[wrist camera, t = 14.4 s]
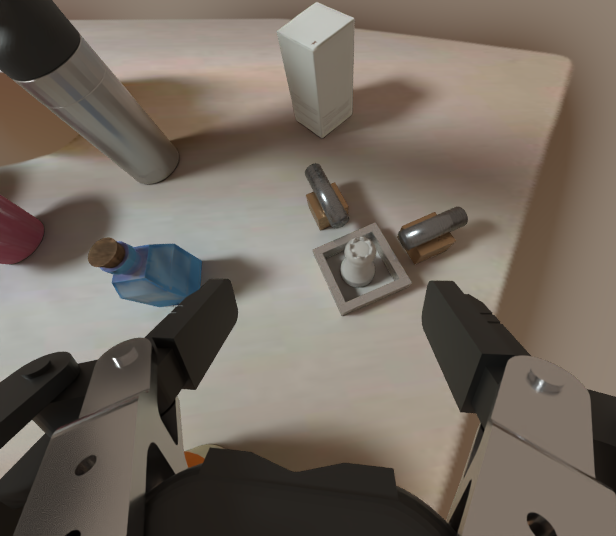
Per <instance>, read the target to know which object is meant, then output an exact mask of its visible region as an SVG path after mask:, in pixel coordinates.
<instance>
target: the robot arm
mask: <svg viewBox="0 0 616 536" xmlns="http://www.w3.org/2000/svg"><path fill="white" fill-rule="evenodd" d="M0 70H1V71H2V72H4V73H5V74H6V75H7V76H9V77H10V78H11V79H13V80H14V81H15V82H16V83H17V84H19V85H20V86H21V87H22V88H24V89H25V90H26V91H27V92H28V93H30V94H31V95H32V96H33V97H35V98H36V99H37V100H38V101H40V102H41V103H42V104H43V105H45V106H46V107H47V108H48V109H49V110H51V111H52V112H53V113H54V114H56V115H57V116H58V117H59V118H61V119H62V120H63V121H65V122H66V123H67V124H68V125H69V126H71V127H72V128H73V129H74V130H75V131H76V132H78V133H79V134H80V135H81V136H83V137H84V138H85V139H86V140H88V141H89V142H90V143H91V144H92V145H94V146H95V147H96V148H97V149H99V150H100V151H101V152H102V153H103V154H105V155H106V156H107V157H108V158H110V159H111V160H112V161H113V162H115V163H116V164H117V165H118V166H119V167H121V168H122V169H123V170H124V171H125V172H127V173H128V174H129V175H130V176H132V177H133V178H134V179H135V180H137V181H138V182H140V183H143V184H153V183H157V182H159V181H161V180H163V179H165V178H166V177H168V176H169V175H170V174H171V173H172V172H173V170H174V169H175V168H176V166H177V164H178V160H179V154H178V151H177V149H176V148H175V147H174V145H173V144H172V143H171V142H170V141H169V139H168V138H167V137H166V136H165V135H164V133H163V132H162V131H161V130H160V129H159V127H158V126H157V125H156V124H155V123H154V121H153V120H152V119H151V118H150V117H149V116H148V114H147V113H146V112H145V111H144V110H143V108H142V107H141V106H140V105H139V104H138V102H137V101H136V100H135V99H134V98H133V96H132V95H131V94H130V93H129V92H128V91H127V89H126V88H125V87H124V86H123V85H122V83H121V82H120V81H119V80H118V79H117V77H116V76H115V75H114V74H113V73H112V72H111V70H110V69H109V68H108V67H107V66H106V64H105V63H104V62H103V61H102V60H101V59H100V57H99V56H98V55H97V54H96V53H95V51H94V50H93V49H92V48H91V47H90V46H89V44H88V43H87V42H86V41H85V40H84V38H83V37H82V36H81V35H80V34H79V32H78V31H77V30H76V29H75V27H74V26H73V25H72V24H71V23H70V21H69V20H68V19H67V18H66V17H65V16H64V14H63V13H62V12H61V11H60V9H59V8H58V7H57V6H56V4H55V3H54V2H53V1H52V0H0ZM237 318H238V308H237V304H236V300H235V296H234V292H233V288H232V284H231V281H230V280H229V279H209V280H208V281H207V282H206V283H205V284H204V285H203V286H202V287H201V288H200V289H199V290H197V291H196V292H194V293H192V294H191V295H189V296H187V297H186V298H185V299H184V300H183V301H182V302H181V303H180V304H179V305H178V307H176V308H175V309H174V310H172V311H171V313H169V314H168V315H167V316H166V317H165V318H164V319H163V320H162V321H161V322H160V323H159V324H158V325H157V326H156V327H155V328H154V329H153V330H152V331H151V332H150V333H149V334H148V335H147V336H146V337H145V338H134V339H130V340H127V341H124V342H122V343H120V344H117V345H116V346H114V347H112V348H111V349H109V350H108V351H107V352H105V353H104V354H103V355H102V356H101V357H100V358H99V359H98V360H94V361H89V362H84V363H79V364H77V362H76V361H75V360H74V358H73V357H72V355H71V354H70V353H68V352H56V353H52V354H48V355H45V356H43V357H40V358H38V359H36V360H34V361H32V362H30V363H28V364H26V365H24V366H23V367H21V368H20V369H18V370H17V371H15V372H14V373H13V374H11V375H10V376H8V377H7V378H6V379H4V380H3V381H2V382H0V449H1V448H2V447H3V446H4V445H5V444H6V443H7V442H8V441H9V440H10V439H12V438H13V437H14V436H15V435H16V434H17V433H18V432H19V431H20V430H21V429H22V428H23V427H24V426H26V425H27V424H28V423H29V422H30V421H31V420H33V421H34V422H35V423H36V424H37V425H38V426H39V427H40V428H41V429H42V430H43V431H44V432H45V434H44V435H43V436H42V437H41V438H40V439H39V440H38V441H37V442H36V443H35V444H34V445H33V446H32V447H31V448H30V450H29V451H28V452H27V453H26V454H25V455H24V456H23V457H22V458H21V459H20V460H19V461H18V462H17V463H16V464H15V465H14V466H13V467H12V468H11V469H10V470H9V471H8V472H7V473H6V474H5V475H4V476H3V477H2V478H1V479H0V536H616V397H614V396H611V395H607V394H603V393H599V392H596V391H592V390H588V389H586V388H585V386H584V385H583V384H582V383H581V382H580V381H579V380H578V379H577V378H576V377H575V376H573V375H572V374H571V373H569V372H568V371H566V370H565V369H563V368H561V367H559V366H557V365H555V364H553V363H551V362H549V361H546V360H543V359H540V358H536V357H532V356H531V355H530V354H529V353H528V352H527V351H526V350H525V349H524V348H523V346H522V345H521V344H520V343H519V342H518V341H517V340H516V339H515V338H514V336H513V335H512V334H511V333H510V332H509V331H508V330H507V329H506V328H505V327H504V326H503V324H500V321H499V320H498V319H497V318H496V317H495V315H492V312H491V311H490V310H489V309H488V308H487V307H486V306H485V304H484V303H483V302H481V301H479V300H478V299H476V298H474V297H473V296H471V295H469V294H464V293H463V292H462V291H461V290H460V288H459V287H458V286H457V285H456V284H455V282H453V281H429V283H428V285H427V290H426V295H425V301H424V306H423V311H422V326H423V329H424V332H425V334H426V336H427V339H428V341H429V343H430V345H431V348H432V350H433V352H434V354H435V357H436V359H437V361H438V363H439V365H440V368H441V370H442V372H443V374H444V377H445V379H446V381H447V383H448V386H449V388H450V390H451V392H452V395H453V397H454V399H455V401H456V404H457V406H458V408H459V410H460V412H465V413H476V414H477V416H478V418H479V420H480V425H479V427H478V429H477V433H476V436H475V439H474V442H473V445H472V448H471V451H470V454H469V457H468V460H467V463H466V466H465V469H464V472H463V476H462V478H461V482H460V485H459V487H458V490H457V493H456V495H455V498H454V500H453V503H452V506H451V508H450V511H449V514H448V517H447V520H446V521H445V520H444V519H443V518H442V517H441V516H440V515H439V514H438V513H437V512H436V511H434V510H433V509H432V508H431V507H430V506H429V505H427V504H426V503H425V502H423V501H422V500H421V499H419V498H418V497H416V496H415V495H413V494H411V493H410V492H408V491H406V490H405V489H402V488H400V487H398V486H396V482H395V476H394V470H393V468H385V467H376V466H367V465H359V464H350V463H341V464H336V465H331V466H326V467H321V468H316V469H311V470H306V471H301V472H292V471H289V470H287V469H285V468H283V467H281V466H279V465H277V464H275V463H273V462H271V461H269V460H267V459H264V458H262V457H260V456H258V455H256V454H254V453H252V452H246V451H238V450H229V449H220V448H212V447H210V448H209V450H208V452H207V455H206V457H205V459H204V462H203V463H201V464H198V465H195V466H192V467H189V468H188V466H187V462H186V459H185V455H184V448H183V436H182V424H181V413H180V402H179V398H178V396H177V395H178V394H179V392H180V391H181V389H190V390H196V388H197V387H198V385H199V383H200V382H201V380H202V378H203V377H204V375H205V373H206V372H207V370H208V368H209V367H210V365H211V363H212V362H213V360H214V358H215V357H216V355H217V353H218V352H219V350H220V348H221V347H222V345H223V343H224V342H225V340H226V338H227V337H228V335H229V333H230V332H231V330H232V328H233V327H234V325H235V323H236V321H237Z"/></svg>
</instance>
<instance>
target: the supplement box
mask: <svg viewBox="0 0 616 536" xmlns="http://www.w3.org/2000/svg"><path fill="white" fill-rule="evenodd" d="M354 22H355V19H354V18H353V17H351V16H348V15H346V14H343V13H341V12H338V11H336V10H334V9H331V8H329V7H327V6H325V5H322V4H320V3H318V2H316V3H315V4H313V5H312V6H310V7H309V8H307V9H306V10H305V11H303V12H302V13H301V14H299V15H298V16H296V17H295V18H294V19H293V20H291V21H290V22H288V23H287V24H286V25H285V26H283V27H282V28H281V29H279V30H278V31H277V35H278V40H279V45H280V49H281V54H282V59H283V63H284V68H285V72H286V77H287V81H288V86H289V91H290V95H291V99H292V104H293V109H294V114H295V118H296V120H297V121H298V122H300V123H301V124H303V125H304V126H305V127H307V128H308V129H310V130H311V131H312V132H314V133H315V134H317V135H318V136H319V137H321V138H323V137H325V136H326V135H327V134H329V133H330V132H331V131H332V130H334V129H335V128H336V127H337V126H339V125H340V124H341V123H342V122H344V121H345V120H346V119H347V118H349V117H350V116H351V115H352V109H353V64H354Z"/></svg>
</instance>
